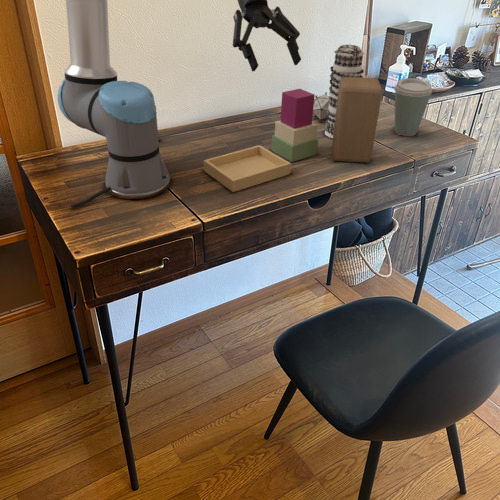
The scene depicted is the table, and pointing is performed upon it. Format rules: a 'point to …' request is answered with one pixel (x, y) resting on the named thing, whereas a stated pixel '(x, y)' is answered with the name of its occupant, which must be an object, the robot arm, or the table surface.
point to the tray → (246, 168)
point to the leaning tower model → (344, 66)
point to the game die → (321, 106)
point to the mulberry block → (297, 108)
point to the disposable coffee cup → (410, 105)
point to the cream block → (295, 133)
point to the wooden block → (356, 119)
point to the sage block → (294, 149)
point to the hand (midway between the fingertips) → (277, 65)
